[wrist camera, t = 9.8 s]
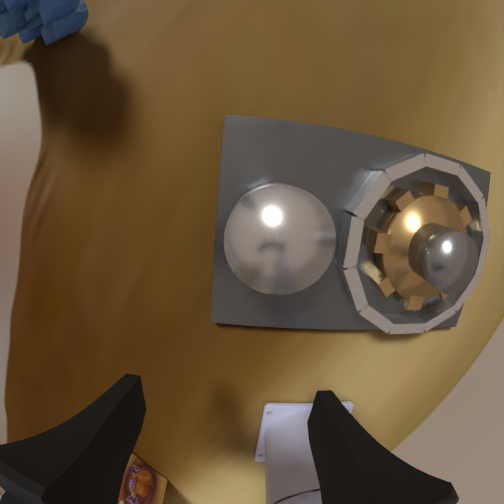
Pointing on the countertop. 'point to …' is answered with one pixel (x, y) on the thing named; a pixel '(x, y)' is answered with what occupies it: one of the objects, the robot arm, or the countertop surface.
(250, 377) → the countertop surface
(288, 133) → the gear carrier
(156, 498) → the candy box
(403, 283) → the planet gear
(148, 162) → the countertop surface
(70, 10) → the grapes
